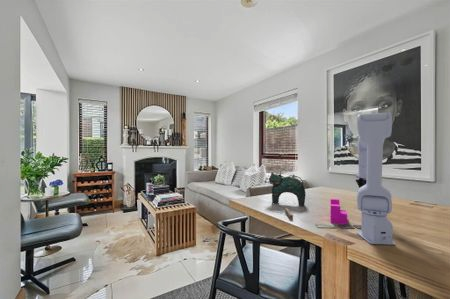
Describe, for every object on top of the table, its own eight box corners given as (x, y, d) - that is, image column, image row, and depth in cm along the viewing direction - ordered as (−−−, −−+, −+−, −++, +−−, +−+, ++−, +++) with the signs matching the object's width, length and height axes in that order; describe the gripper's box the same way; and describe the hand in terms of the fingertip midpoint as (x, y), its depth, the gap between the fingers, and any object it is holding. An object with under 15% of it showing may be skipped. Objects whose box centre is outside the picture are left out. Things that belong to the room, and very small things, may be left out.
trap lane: (370, 229, 86) (370, 224, 86) (294, 226, 89) (294, 222, 89) (346, 213, 107) (346, 209, 107) (285, 212, 110) (285, 208, 110)
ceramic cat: (268, 203, 127) (268, 169, 127) (271, 201, 133) (271, 168, 133) (305, 207, 119) (305, 170, 119) (305, 204, 125) (305, 169, 125)
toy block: (347, 225, 92) (347, 207, 92) (330, 222, 94) (330, 205, 94) (345, 215, 105) (345, 199, 105) (330, 213, 108) (330, 198, 108)
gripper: (385, 167, 91) (385, 199, 91) (366, 164, 105) (366, 192, 106) (367, 167, 92) (367, 199, 92) (351, 164, 106) (351, 192, 106)
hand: (366, 196), depth 99 cm, fingers open, 3 cm apart
